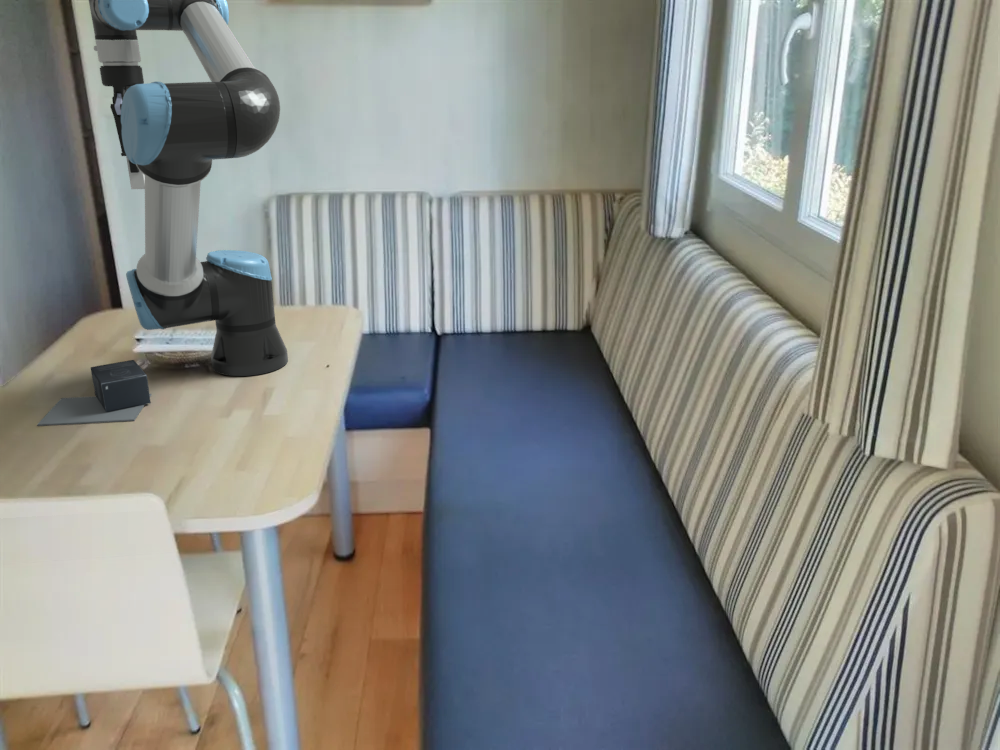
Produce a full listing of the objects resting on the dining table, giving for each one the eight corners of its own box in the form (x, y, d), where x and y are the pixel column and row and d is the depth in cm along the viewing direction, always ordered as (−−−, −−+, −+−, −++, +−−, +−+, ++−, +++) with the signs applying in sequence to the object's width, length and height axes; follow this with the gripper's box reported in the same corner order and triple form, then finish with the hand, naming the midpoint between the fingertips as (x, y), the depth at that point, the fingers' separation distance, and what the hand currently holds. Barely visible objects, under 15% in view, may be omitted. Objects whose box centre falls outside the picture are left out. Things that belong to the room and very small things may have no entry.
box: (94, 395, 159) (105, 413, 150) (89, 366, 157) (100, 383, 148) (139, 386, 163) (151, 403, 154) (134, 358, 161) (147, 374, 152)
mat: (151, 395, 159) (151, 393, 159) (134, 420, 148) (133, 419, 148) (61, 399, 157) (61, 397, 157) (37, 426, 146) (37, 424, 146)
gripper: (110, 63, 168) (128, 184, 177) (88, 65, 156) (110, 194, 165) (149, 63, 169) (166, 183, 178) (131, 64, 157) (150, 193, 166)
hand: (139, 188), depth 171 cm, fingers closed
